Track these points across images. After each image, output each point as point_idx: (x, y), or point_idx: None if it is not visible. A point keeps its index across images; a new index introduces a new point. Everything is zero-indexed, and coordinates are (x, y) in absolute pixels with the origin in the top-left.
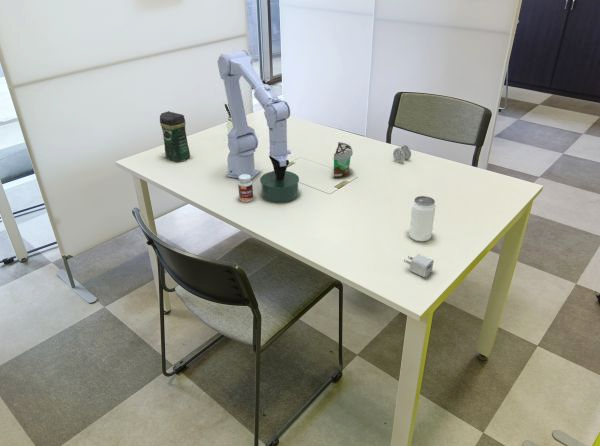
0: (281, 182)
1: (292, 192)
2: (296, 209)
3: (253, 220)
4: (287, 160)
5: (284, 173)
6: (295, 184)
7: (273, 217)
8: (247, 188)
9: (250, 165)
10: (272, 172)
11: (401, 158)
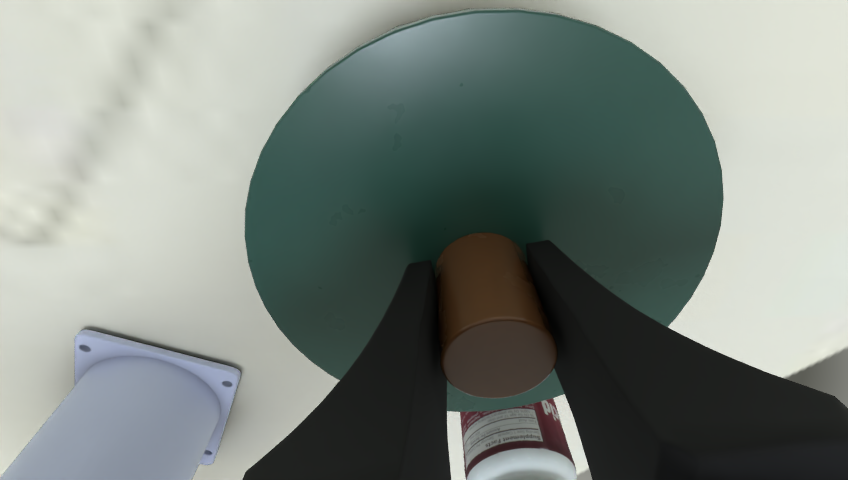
0: (582, 250)
1: None
2: (785, 36)
3: (783, 328)
4: (734, 469)
5: (600, 286)
6: (669, 73)
7: (814, 223)
8: (568, 449)
9: (145, 452)
10: (310, 333)
11: None
